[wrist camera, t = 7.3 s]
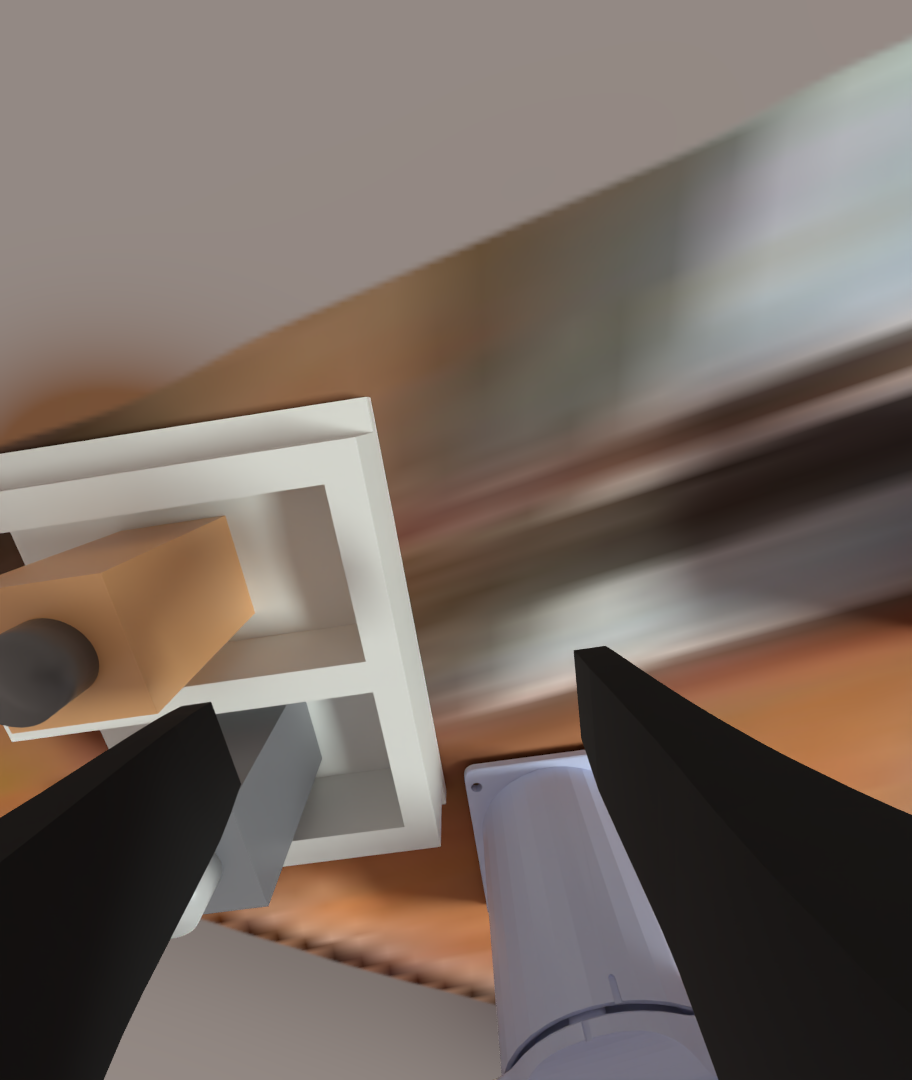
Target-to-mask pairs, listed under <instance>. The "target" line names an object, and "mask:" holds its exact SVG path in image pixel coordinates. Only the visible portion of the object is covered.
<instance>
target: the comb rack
mask: <svg viewBox="0 0 912 1080" xmlns="http://www.w3.org/2000/svg"><path fill="white" fill-rule="evenodd" d="M218 516H226V519H227V523H228V526H229V529H230V532H231V536H232V539H233V542H234V546H235V549H236V552H237V555H238V559H239V562H240V565H241V568H242V572H243V575H244V578H245V582H246V585H247V588H248V591H249V595H250V598H251V601H252V604H253V608H254V611H255V614H254V615H253V616H252V617H251V618H250V619H249V620H248V621H247V622H246V623H245V624H244V625H243V626H242V627H241V628H240V629H239V630H238V631H237V632H236V633H235V634H234V635H233V636H232V637H231V639H230V640H229V641H228V642H227V643H226V644H225V645H224V646H223V647H222V648H221V649H220V650H219V651H218V652H217V653H216V654H215V655H214V656H213V657H212V658H211V659H210V660H209V661H208V662H207V663H206V664H205V665H204V666H203V668H202V669H201V670H200V671H199V672H198V673H197V674H196V675H195V676H194V677H193V678H192V679H191V680H190V681H189V682H188V683H187V684H186V685H185V686H184V687H183V688H182V689H181V690H180V691H179V692H178V693H177V694H176V695H175V696H174V698H173V699H172V700H171V701H170V702H169V703H168V704H167V705H166V706H165V707H164V708H163V709H162V710H161V711H160V712H159V713H158V714H153V715H145V716H138V717H131V718H123V719H116V720H109V721H102V722H94V723H87V724H80V725H73V726H65V727H58V728H51V729H43V730H36V731H29V732H22V733H14V734H12V733H11V731H10V729H9V728H8V726H5V725H3V726H4V727H5V729H6V731H7V733H8V735H9V737H10V739H11V741H12V742H15V741H22V740H30V739H37V738H44V737H52V736H59V735H66V734H73V733H81V732H88V731H95V730H100V731H101V733H102V735H103V738H104V740H105V742H106V744H107V746H108V749H110V748H112V747H113V746H115V745H116V744H118V743H119V742H121V741H122V740H124V739H126V738H127V737H129V736H130V735H132V734H134V733H135V732H137V731H138V730H140V729H142V728H143V727H145V726H147V725H148V724H150V723H151V722H153V721H155V720H157V719H158V718H160V717H162V716H163V715H165V714H167V713H169V712H171V711H173V710H175V709H177V708H179V707H180V706H185V705H192V704H199V703H206V702H211V703H212V705H213V708H214V711H215V714H219V713H226V712H234V711H241V710H248V709H256V708H263V707H270V706H278V705H285V704H292V703H299V702H306V703H307V707H308V710H309V714H310V717H311V721H312V724H313V727H314V731H315V734H316V738H317V741H318V745H319V748H320V752H321V755H322V761H321V764H320V766H319V769H318V772H317V775H316V777H315V780H314V783H313V785H312V788H311V791H310V794H309V796H308V799H307V802H306V805H305V807H304V810H303V813H302V816H301V818H300V821H299V824H298V826H297V829H296V832H295V835H294V837H293V840H292V843H291V846H290V848H289V851H288V854H287V856H286V859H285V862H284V865H283V867H285V866H292V865H300V864H308V863H316V862H324V861H332V860H340V859H348V858H356V857H363V856H371V855H379V854H387V853H395V852H403V851H411V850H419V849H427V848H435V847H441V815H442V804H446V785H445V780H444V775H443V770H442V765H441V760H440V754H439V749H438V744H437V739H436V734H435V729H434V724H433V718H432V713H431V708H430V703H429V698H428V693H427V687H426V682H425V677H424V672H423V667H422V662H421V656H420V651H419V646H418V641H417V636H416V631H415V625H414V620H413V615H412V610H411V605H410V600H409V594H408V589H407V584H406V579H405V574H404V569H403V564H402V558H401V553H400V548H399V543H398V538H397V533H396V527H395V522H394V517H393V512H392V507H391V502H390V496H389V491H388V486H387V481H386V476H385V471H384V465H383V460H382V455H381V450H380V445H379V440H378V434H377V429H376V424H375V419H374V414H373V409H372V404H371V398H370V397H362V398H355V399H349V400H342V401H336V402H330V403H323V404H317V405H310V406H304V407H298V408H291V409H285V410H278V411H272V412H266V413H259V414H253V415H246V416H240V417H234V418H227V419H221V420H214V421H208V422H202V423H195V424H189V425H182V426H176V427H170V428H163V429H157V430H150V431H144V432H137V433H131V434H125V435H118V436H112V437H105V438H99V439H93V440H86V441H80V442H73V443H67V444H61V445H54V446H48V447H41V448H35V449H29V450H22V451H16V452H9V453H3V454H0V533H6V532H10V533H11V535H12V537H13V539H14V542H15V544H16V546H17V548H18V550H19V553H20V555H21V557H22V559H23V561H24V564H25V566H26V565H28V564H31V563H34V562H37V561H39V560H42V559H45V558H48V557H50V556H53V555H56V554H59V553H61V552H64V551H67V550H70V549H72V548H75V547H78V546H81V545H83V544H86V543H89V542H92V541H95V540H97V539H100V538H103V537H106V536H108V535H111V534H114V533H117V532H119V531H124V530H131V529H138V528H144V527H151V526H158V525H164V524H171V523H178V522H184V521H191V520H198V519H204V518H211V517H218Z"/></svg>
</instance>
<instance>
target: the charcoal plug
mask: <svg viewBox="0 0 912 1080" xmlns="http://www.w3.org/2000/svg"><path fill="white" fill-rule="evenodd" d="M216 716H217V719H218V722H219V725H220V727H221V730H222V733H223V735H224V738H225V741H226V744H227V746H228V749H229V752H230V755H231V757H232V760H233V763H234V766H235V768H236V771H237V774H238V777H239V779H240V782H241V786H240V789H239V792H238V795H237V798H236V800H235V803H234V806H233V809H232V812H231V815H230V817H229V820H228V822H227V825H226V827H225V830H224V833H223V835H222V838H221V840H220V842H219V844H218V846H217V848H216V850H215V852H214V855H213V857H212V859H211V861H210V863H209V865H208V866H207V868H206V870H205V872H204V874H203V876H202V878H201V880H200V882H199V884H198V886H197V888H196V890H195V892H194V894H193V896H192V898H191V900H190V902H189V904H188V906H187V908H186V910H185V912H184V914H183V916H182V917H181V919H180V921H179V923H178V925H177V927H176V929H175V931H174V933H173V935H172V937H171V939H173V938H178V937H182V936H184V935H186V934H188V933H190V932H191V931H192V930H194V929H195V927H196V926H197V925H198V923H199V921H200V919H201V917H202V915H203V914H209V913H217V912H225V911H233V910H241V909H250V908H258V907H266V906H269V903H270V900H271V897H272V895H273V892H274V889H275V886H276V884H277V881H278V878H279V876H280V873H281V870H282V867H283V865H284V862H285V859H286V856H287V854H288V851H289V848H290V846H291V843H292V840H293V837H294V835H295V832H296V829H297V826H298V824H299V821H300V818H301V816H302V813H303V810H304V807H305V805H306V802H307V799H308V796H309V794H310V791H311V788H312V785H313V783H314V780H315V777H316V775H317V772H318V769H319V766H320V764H321V761H322V755H321V752H320V748H319V745H318V741H317V738H316V734H315V731H314V727H313V724H312V721H311V717H310V714H309V710H308V707H307V703H306V702H299V703H292V704H285V705H278V706H270V707H263V708H256V709H248V710H241V711H234V712H226V713H219V714H216Z"/></svg>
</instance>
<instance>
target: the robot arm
mask: <svg viewBox="0 0 912 1080" xmlns="http://www.w3.org/2000/svg"><path fill="white" fill-rule="evenodd" d="M574 659H575V671H576V682H577V694H578V706H579V717H580V729H581V739H582V742H583V745H584V748H585V750H578V751H570V752H562V753H555V754H547V755H540V756H532V757H524V758H517V759H509V760H502V761H494V762H487V763H479V764H472V765H469V766H468V767H467V768H466V769H465V771H464V780H465V785H466V791H467V797H468V802H469V808H470V814H471V819H472V825H473V831H474V836H475V842H476V847H477V853H478V859H479V864H480V870H481V876H482V881H483V887H484V893H485V898H486V904H487V909H488V913H489V921H490V934H491V946H492V959H493V972H494V984H495V997H496V1009H497V1022H498V1035H499V1048H500V1060H501V1073H502V1076H500V1077H498V1078H497V1079H494V1080H912V815H911V814H908V813H906V812H904V811H901V810H899V809H896V808H894V807H892V806H890V805H888V804H885V803H883V802H881V801H879V800H876V799H874V798H872V797H870V796H868V795H865V794H863V793H861V792H859V791H857V790H854V789H852V788H850V787H848V786H846V785H844V784H842V783H840V782H838V781H836V780H834V779H832V778H830V777H828V776H826V775H824V774H822V773H819V772H817V771H815V770H813V769H811V768H809V767H807V766H805V765H803V764H801V763H799V762H797V761H795V760H793V759H791V758H789V757H787V756H785V755H783V754H781V753H779V752H778V751H776V750H774V749H772V748H770V747H768V746H766V745H764V744H762V743H761V742H759V741H757V740H755V739H753V738H752V737H750V736H748V735H746V734H745V733H743V732H741V731H739V730H738V729H736V728H734V727H732V726H730V725H729V724H727V723H725V722H723V721H722V720H720V719H718V718H717V717H715V716H713V715H712V714H710V713H708V712H707V711H705V710H703V709H701V708H700V707H698V706H697V705H695V704H693V703H692V702H690V701H689V700H687V699H685V698H684V697H682V696H681V695H679V694H677V693H676V692H674V691H673V690H671V689H670V688H668V687H667V686H665V685H663V684H662V683H660V682H659V681H657V680H656V679H654V678H653V677H651V676H650V675H648V674H647V673H645V672H644V671H642V670H641V669H639V668H638V667H636V666H635V665H633V664H632V663H631V662H629V661H628V660H626V659H625V658H623V657H622V656H620V655H619V654H617V653H616V652H614V651H613V650H611V649H609V648H608V647H606V646H602V647H595V648H587V649H580V650H574ZM474 783H480V784H479V785H473V784H474ZM240 786H241V782H240V779H239V777H238V774H237V771H236V768H235V766H234V763H233V760H232V757H231V755H230V752H229V749H228V746H227V744H226V741H225V738H224V735H223V733H222V730H221V727H220V725H219V722H218V719H217V716H216V714H215V711H214V708H213V705H212V703H211V702H206V703H199V704H192V705H185V706H180V707H179V708H177V709H175V710H173V711H171V712H169V713H167V714H165V715H163V716H162V717H160V718H158V719H157V720H155V721H153V722H151V723H150V724H148V725H147V726H145V727H143V728H142V729H140V730H138V731H137V732H135V733H134V734H132V735H130V736H129V737H127V738H126V739H124V740H122V741H121V742H119V743H118V744H116V745H115V746H113V747H112V748H110V749H108V750H107V751H105V752H104V753H102V754H101V755H99V756H98V757H96V758H94V759H93V760H91V761H90V762H88V763H87V764H85V765H84V766H82V767H80V768H79V769H77V770H76V771H74V772H73V773H71V774H70V775H68V776H66V777H65V778H63V779H62V780H60V781H59V782H57V783H56V784H54V785H52V786H51V787H49V788H48V789H46V790H45V791H43V792H41V793H40V794H38V795H37V796H35V797H33V798H32V799H30V800H28V801H27V802H25V803H24V804H22V805H20V806H19V807H17V808H15V809H14V810H12V811H11V812H9V813H7V814H6V815H4V816H3V817H1V818H0V1080H104V1077H105V1075H106V1072H107V1070H108V1068H109V1066H110V1063H111V1061H112V1058H113V1056H114V1054H115V1052H116V1049H117V1047H118V1044H119V1042H120V1040H121V1038H122V1035H123V1033H124V1031H125V1029H126V1027H127V1025H128V1023H129V1020H130V1018H131V1016H132V1014H133V1012H134V1010H135V1008H136V1006H137V1004H138V1002H139V1000H140V997H141V995H142V993H143V991H144V989H145V987H146V985H147V984H148V981H149V980H150V978H151V976H152V974H153V972H154V970H155V968H156V966H157V964H158V962H159V960H160V958H161V956H162V954H163V952H164V950H165V948H166V947H167V945H168V943H169V941H170V939H171V937H172V935H173V933H174V931H175V929H176V927H177V925H178V923H179V921H180V919H181V917H182V916H183V914H184V912H185V910H186V908H187V906H188V904H189V902H190V900H191V898H192V896H193V894H194V892H195V890H196V888H197V886H198V884H199V882H200V880H201V878H202V876H203V874H204V872H205V870H206V868H207V866H208V865H209V863H210V861H211V859H212V857H213V855H214V852H215V850H216V848H217V846H218V844H219V842H220V840H221V838H222V835H223V833H224V830H225V827H226V825H227V822H228V820H229V817H230V815H231V812H232V809H233V806H234V803H235V800H236V798H237V795H238V792H239V789H240Z"/></svg>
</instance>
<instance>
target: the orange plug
mask: <svg viewBox="0 0 912 1080" xmlns="http://www.w3.org/2000/svg"><path fill="white" fill-rule="evenodd" d="M254 614H255V611H254V608H253V604H252V601H251V598H250V595H249V591H248V588H247V585H246V582H245V578H244V575H243V572H242V568H241V565H240V562H239V559H238V555H237V552H236V549H235V546H234V542H233V539H232V536H231V532H230V529H229V526H228V523H227V519H226V516H218V517H211V518H204V519H198V520H191V521H184V522H178V523H171V524H164V525H158V526H151V527H144V528H138V529H131V530H124V531H119V532H117V533H114V534H111V535H108V536H106V537H103V538H100V539H97V540H95V541H92V542H89V543H86V544H83V545H81V546H78V547H75V548H72V549H70V550H67V551H64V552H61V553H59V554H56V555H53V556H50V557H48V558H45V559H42V560H39V561H37V562H34V563H31V564H28V565H26V566H23V567H20V568H17V569H15V570H12V571H9V572H6V573H4V574H1V575H0V724H1V725H5V726H8V728H9V729H10V731H11V733H12V734H14V733H22V732H29V731H36V730H43V729H51V728H58V727H65V726H73V725H80V724H87V723H94V722H102V721H109V720H116V719H123V718H131V717H138V716H145V715H153V714H158V713H159V712H160V711H161V710H162V709H163V708H164V707H165V706H166V705H167V704H168V703H169V702H170V701H171V700H172V699H173V698H174V696H175V695H176V694H177V693H178V692H179V691H180V690H181V689H182V688H183V687H184V686H185V685H186V684H187V683H188V682H189V681H190V680H191V679H192V678H193V677H194V676H195V675H196V674H197V673H198V672H199V671H200V670H201V669H202V668H203V666H204V665H205V664H206V663H207V662H208V661H209V660H210V659H211V658H212V657H213V656H214V655H215V654H216V653H217V652H218V651H219V650H220V649H221V648H222V647H223V646H224V645H225V644H226V643H227V642H228V641H229V640H230V639H231V637H232V636H233V635H234V634H235V633H236V632H237V631H238V630H239V629H240V628H241V627H242V626H243V625H244V624H245V623H246V622H247V621H248V620H249V619H250V618H251V617H252V616H253V615H254Z"/></svg>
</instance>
